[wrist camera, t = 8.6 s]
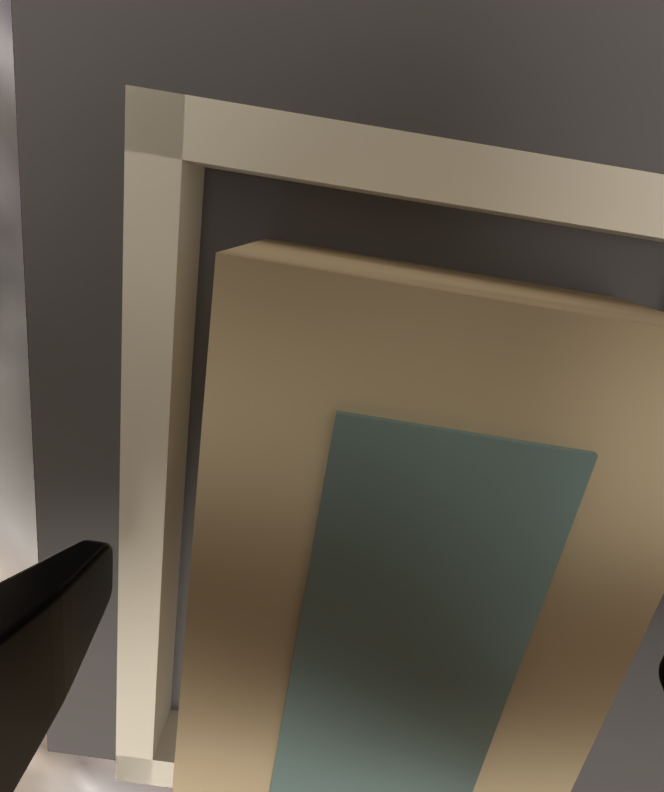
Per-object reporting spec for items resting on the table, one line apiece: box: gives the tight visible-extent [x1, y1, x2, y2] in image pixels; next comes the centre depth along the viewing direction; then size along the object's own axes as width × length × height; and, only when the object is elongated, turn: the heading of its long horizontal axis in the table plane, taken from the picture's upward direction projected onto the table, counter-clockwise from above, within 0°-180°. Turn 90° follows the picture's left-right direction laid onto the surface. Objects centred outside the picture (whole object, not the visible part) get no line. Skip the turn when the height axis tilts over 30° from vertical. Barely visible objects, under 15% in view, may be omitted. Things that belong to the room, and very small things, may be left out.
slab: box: [172, 238, 664, 792], centre depth 9 cm, size 10×6×4 cm, turn 171°
